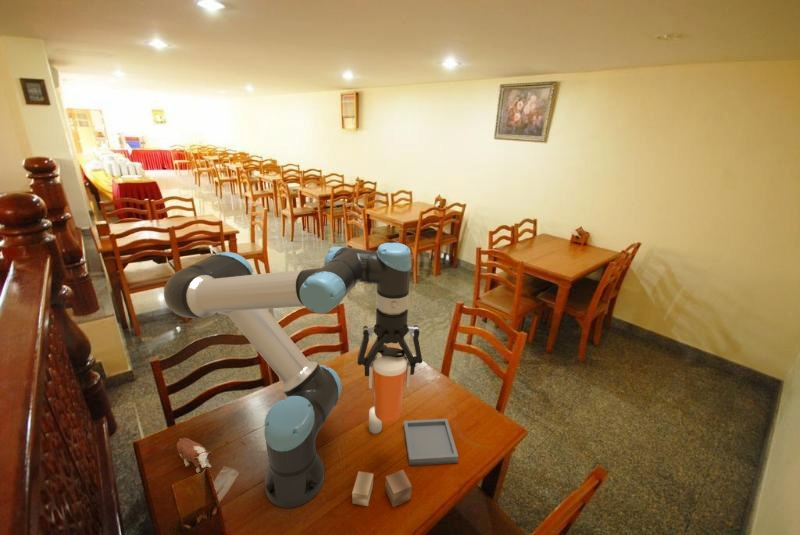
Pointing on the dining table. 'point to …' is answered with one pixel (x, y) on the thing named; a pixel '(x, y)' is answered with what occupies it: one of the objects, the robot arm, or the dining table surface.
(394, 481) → the walnut block
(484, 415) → the dining table surface
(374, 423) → the ceramic shaker
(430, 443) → the tray
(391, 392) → the shaker bottle
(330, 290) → the robot arm
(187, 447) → the bull figurine
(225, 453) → the dining table surface
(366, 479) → the oak block
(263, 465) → the dining table surface
